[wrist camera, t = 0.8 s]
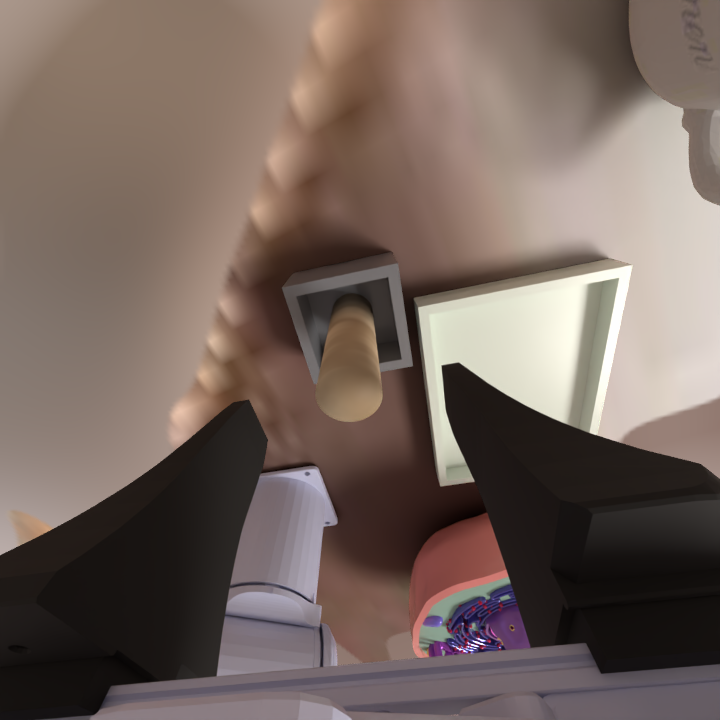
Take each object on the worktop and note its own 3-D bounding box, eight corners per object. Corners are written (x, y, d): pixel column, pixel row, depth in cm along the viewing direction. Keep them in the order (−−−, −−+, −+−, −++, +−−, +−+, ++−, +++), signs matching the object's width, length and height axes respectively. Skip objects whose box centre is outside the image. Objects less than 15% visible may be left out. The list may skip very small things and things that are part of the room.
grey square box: (319, 359, 22) (313, 383, 20) (292, 273, 19) (281, 287, 17) (405, 343, 22) (413, 366, 19) (392, 251, 19) (397, 263, 16)
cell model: (381, 581, 37) (389, 726, 27) (424, 459, 27) (461, 615, 17) (517, 591, 38) (573, 733, 28) (604, 479, 29) (734, 634, 19)
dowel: (337, 335, 21) (325, 426, 13) (327, 298, 20) (307, 373, 12) (376, 327, 21) (387, 416, 13) (368, 289, 19) (375, 361, 11)
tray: (435, 469, 28) (440, 486, 26) (413, 297, 20) (417, 307, 19) (577, 448, 27) (590, 465, 25) (610, 258, 19) (632, 264, 17)
